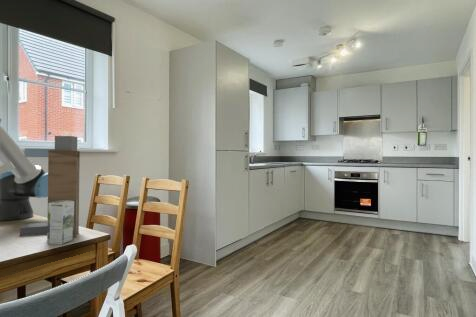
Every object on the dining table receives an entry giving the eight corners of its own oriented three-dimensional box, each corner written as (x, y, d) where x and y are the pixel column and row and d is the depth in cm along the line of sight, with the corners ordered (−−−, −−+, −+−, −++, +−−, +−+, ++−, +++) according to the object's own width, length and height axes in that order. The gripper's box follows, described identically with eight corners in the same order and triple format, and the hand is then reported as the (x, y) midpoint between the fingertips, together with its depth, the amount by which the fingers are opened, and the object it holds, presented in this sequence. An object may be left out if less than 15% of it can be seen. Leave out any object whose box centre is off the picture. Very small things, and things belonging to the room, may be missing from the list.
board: (25, 231, 115) (25, 223, 115) (65, 228, 121) (65, 221, 121) (19, 235, 109) (19, 227, 109) (62, 232, 114) (62, 225, 114)
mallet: (23, 156, 106) (23, 135, 106) (31, 156, 110) (31, 136, 110) (71, 157, 107) (71, 136, 107) (77, 157, 112) (77, 137, 112)
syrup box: (59, 239, 105) (59, 199, 105) (74, 240, 104) (74, 200, 104) (46, 244, 99) (47, 202, 99) (62, 245, 98) (63, 202, 98)
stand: (52, 234, 111) (53, 150, 111) (78, 232, 114) (79, 151, 115) (47, 240, 104) (48, 150, 104) (75, 237, 107) (76, 150, 107)
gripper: (-36, 201, 108) (23, 172, 114) (-80, 213, 84) (-3, 176, 91) (-49, 184, 106) (12, 156, 113) (-97, 191, 83) (-17, 155, 90)
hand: (5, 165), depth 102 cm, fingers open, 13 cm apart
